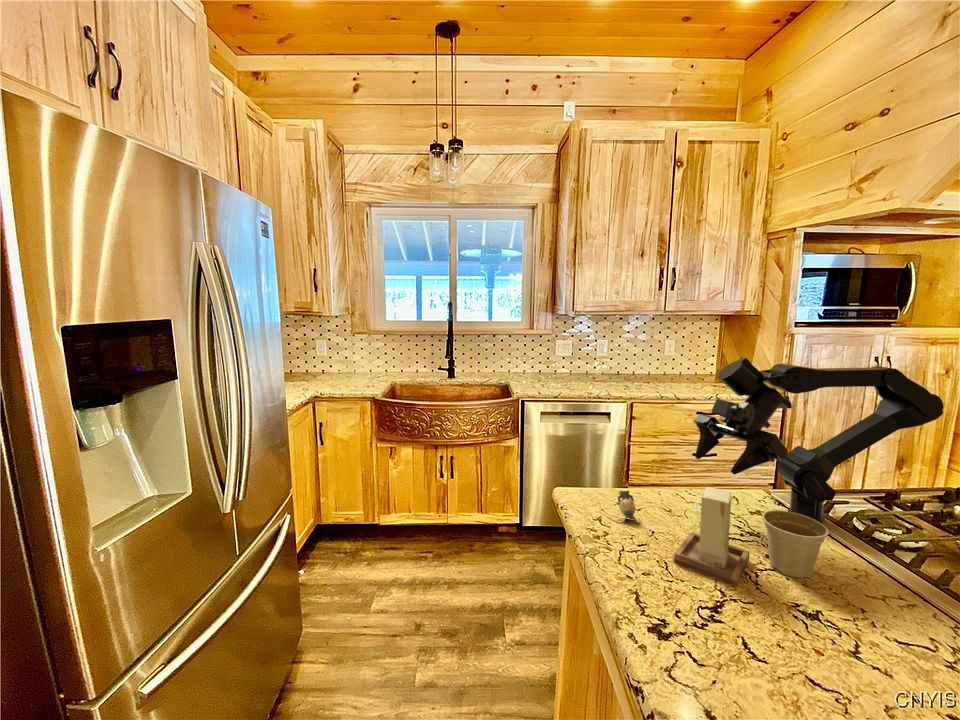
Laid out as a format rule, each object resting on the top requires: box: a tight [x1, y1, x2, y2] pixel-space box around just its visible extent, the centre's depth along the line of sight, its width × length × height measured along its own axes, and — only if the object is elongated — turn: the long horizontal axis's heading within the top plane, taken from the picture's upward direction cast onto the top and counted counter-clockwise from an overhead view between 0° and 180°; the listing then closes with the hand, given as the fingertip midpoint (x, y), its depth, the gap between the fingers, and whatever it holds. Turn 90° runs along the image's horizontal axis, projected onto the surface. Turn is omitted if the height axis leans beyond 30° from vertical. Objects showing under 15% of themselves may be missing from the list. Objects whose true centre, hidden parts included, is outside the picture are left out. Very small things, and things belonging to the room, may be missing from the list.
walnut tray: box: [673, 532, 750, 588], centre depth 76 cm, size 10×10×2 cm
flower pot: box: [761, 509, 830, 579], centre depth 73 cm, size 9×9×9 cm
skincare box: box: [699, 486, 732, 568], centre depth 75 cm, size 6×4×12 cm
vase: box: [616, 490, 641, 524], centre depth 92 cm, size 5×5×6 cm
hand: (713, 465), depth 87 cm, fingers open, 9 cm apart
